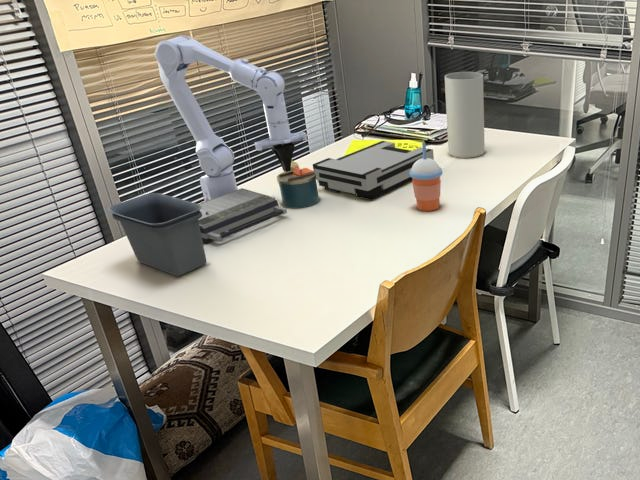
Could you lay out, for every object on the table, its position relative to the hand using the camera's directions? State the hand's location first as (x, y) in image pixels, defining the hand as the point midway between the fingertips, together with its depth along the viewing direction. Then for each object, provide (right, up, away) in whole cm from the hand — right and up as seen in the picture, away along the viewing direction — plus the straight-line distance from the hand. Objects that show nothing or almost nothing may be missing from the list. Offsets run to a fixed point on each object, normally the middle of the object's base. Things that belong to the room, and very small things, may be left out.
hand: (287, 170), depth 185 cm
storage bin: (-20, -30, -25) cm, 43 cm away
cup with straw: (+40, -10, +1) cm, 41 cm away
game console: (+22, +2, +20) cm, 30 cm away
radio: (-14, -16, -6) cm, 22 cm away
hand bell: (-4, +3, +22) cm, 23 cm away
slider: (+4, 0, +4) cm, 5 cm away
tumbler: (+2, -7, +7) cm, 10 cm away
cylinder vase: (+50, +18, +41) cm, 67 cm away
